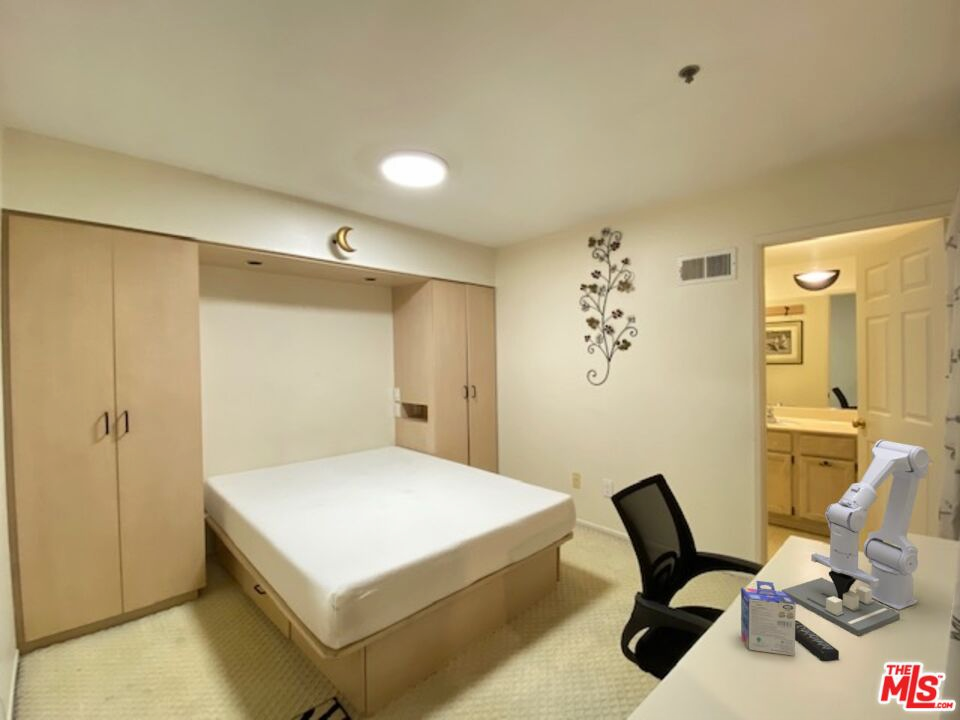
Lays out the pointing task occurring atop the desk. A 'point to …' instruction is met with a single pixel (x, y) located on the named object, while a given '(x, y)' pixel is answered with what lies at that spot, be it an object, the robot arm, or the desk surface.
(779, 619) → the ink cartridge box
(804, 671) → the desk surface
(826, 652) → the multiport hub
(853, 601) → the block
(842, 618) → the panel
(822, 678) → the desk surface
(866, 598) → the breaker handle
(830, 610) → the block
